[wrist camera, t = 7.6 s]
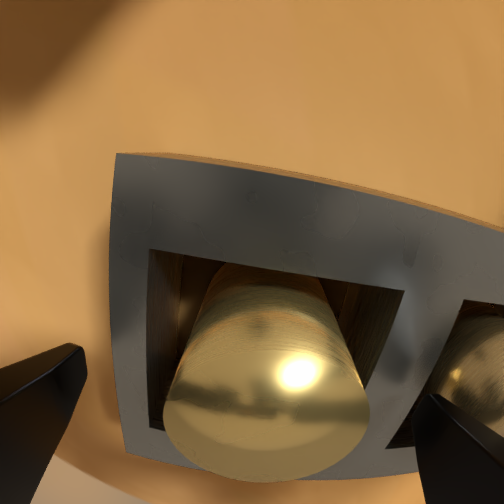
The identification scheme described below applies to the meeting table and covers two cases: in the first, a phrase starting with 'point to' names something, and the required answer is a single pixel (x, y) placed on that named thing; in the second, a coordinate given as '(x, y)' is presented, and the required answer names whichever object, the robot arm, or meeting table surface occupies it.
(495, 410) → the dull gold rounded cylinder
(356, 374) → the brass domed cylinder
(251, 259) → the jig
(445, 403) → the robot arm
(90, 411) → the meeting table surface
